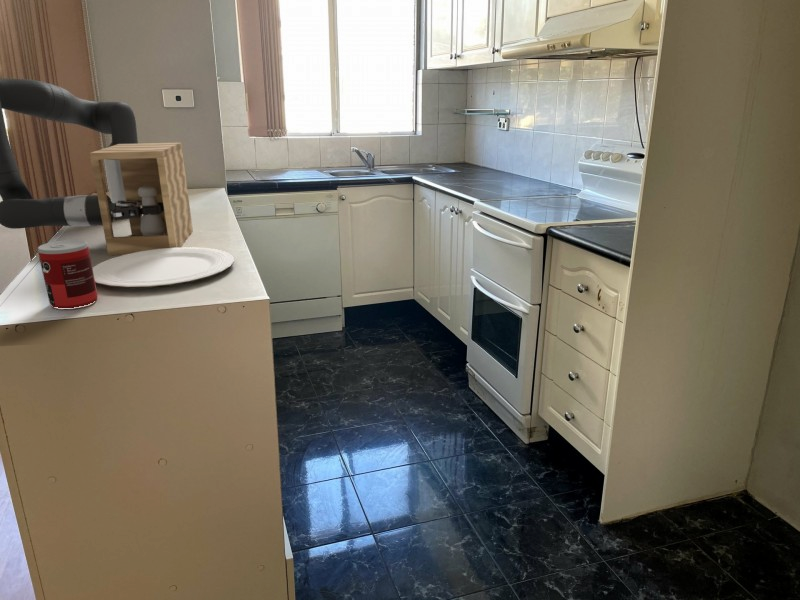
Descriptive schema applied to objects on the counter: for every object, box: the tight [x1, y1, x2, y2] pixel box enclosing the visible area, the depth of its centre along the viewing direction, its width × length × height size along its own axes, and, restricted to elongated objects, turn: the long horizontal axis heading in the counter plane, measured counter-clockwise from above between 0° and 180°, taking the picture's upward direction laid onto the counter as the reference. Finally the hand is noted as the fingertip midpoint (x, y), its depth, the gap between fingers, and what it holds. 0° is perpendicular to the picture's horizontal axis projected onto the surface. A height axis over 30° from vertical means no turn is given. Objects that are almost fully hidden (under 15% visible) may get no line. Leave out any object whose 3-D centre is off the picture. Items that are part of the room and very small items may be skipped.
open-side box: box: [89, 142, 194, 256], centre depth 148 cm, size 22×16×24 cm
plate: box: [92, 246, 235, 289], centre depth 128 cm, size 29×29×2 cm
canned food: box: [37, 239, 99, 308], centre depth 107 cm, size 8×8×11 cm
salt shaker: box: [138, 186, 165, 236], centre depth 149 cm, size 6×6×13 cm
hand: (162, 208), depth 149 cm, fingers closed on salt shaker, 3 cm apart
